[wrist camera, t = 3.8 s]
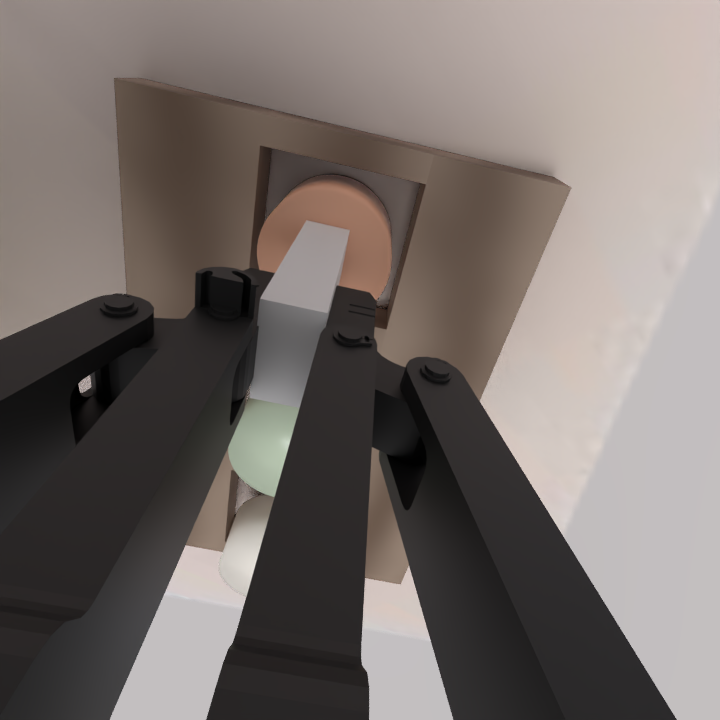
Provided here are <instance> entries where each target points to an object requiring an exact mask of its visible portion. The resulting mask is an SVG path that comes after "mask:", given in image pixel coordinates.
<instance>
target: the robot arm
mask: <svg viewBox="0 0 720 720" xmlns="http://www.w3.org/2000/svg"><path fill="white" fill-rule="evenodd" d="M349 232H350V230H347V229H343V228H339V227H334V226H330V225H325V224H321V223H317V222H312V221H308V220H306V222H305V224H304V225H303V227H302V229H301V230H300V232H299V234H298V235H297V237H296V239H295V241H294V242H293V244H292V246H291V247H290V249H289V251H288V252H287V254H286V256H285V257H284V259H283V261H282V262H281V264H280V266H279V267H278V269H277V271H276V272H275V273H273V272H268V271H263V270H259V269H254V268H249V269H246V270H243V271H242V270H239V269H236V268H229V267H208V268H203V269H201V270H199V271H197V272H196V274H195V307H194V308H193V309H192V310H191V312H190V313H189V314H188V315H187V316H186V318H183V319H170V318H154V307H153V306H152V304H151V303H150V302H149V301H147V300H145V299H143V298H140V297H136V296H132V295H129V294H124V295H122V294H113V295H105V296H101V297H97V298H94V299H91V300H89V301H87V302H84V303H82V304H80V305H78V306H75V307H73V308H71V309H69V310H66V311H64V312H62V313H60V314H57V315H55V316H53V317H51V318H48V319H46V320H44V321H42V322H39V323H37V324H35V325H33V326H30V327H28V328H26V329H24V330H21V331H19V332H17V333H15V334H12V335H10V336H8V337H6V338H3V339H1V340H0V720H110V717H111V715H112V712H113V710H114V708H115V705H116V703H117V701H118V699H119V696H120V694H121V691H122V689H123V687H124V685H125V682H126V680H127V678H128V676H129V673H130V671H131V669H132V666H133V664H134V662H135V660H136V657H137V655H138V653H139V650H140V648H141V646H142V643H143V641H144V639H145V637H146V634H147V632H148V629H149V627H150V625H151V623H152V621H153V618H154V616H155V614H156V611H157V609H158V607H159V604H160V602H161V600H162V598H163V595H164V593H165V591H166V589H167V586H168V584H169V582H170V579H171V577H172V575H173V573H174V570H175V568H176V566H177V563H178V561H179V559H180V556H181V554H182V552H183V550H184V547H185V545H186V543H187V540H188V538H189V536H190V534H191V531H192V529H193V527H194V524H195V522H196V520H197V518H198V515H199V513H200V511H201V508H202V506H203V504H204V501H205V499H206V497H207V495H208V492H209V490H210V488H211V485H212V483H213V481H214V479H215V476H216V474H217V472H218V469H219V467H220V465H221V463H222V460H223V458H224V456H225V453H226V451H227V449H228V446H229V444H230V442H231V440H232V437H233V435H234V433H235V430H236V428H237V426H238V424H239V421H240V419H241V417H242V414H243V412H244V408H245V398H246V392H247V390H248V388H249V386H250V384H251V388H250V397H249V398H253V399H257V400H262V401H267V402H272V403H277V404H282V405H287V406H292V407H297V408H299V412H298V415H297V419H296V422H295V426H294V429H293V433H292V437H291V440H290V444H289V447H288V451H287V454H286V458H285V461H284V465H283V469H282V472H281V476H280V479H279V483H278V486H277V490H276V493H275V497H274V501H273V504H272V508H271V511H270V515H269V518H268V522H267V525H266V529H265V533H264V536H263V540H262V543H261V547H260V550H259V554H258V557H257V561H256V565H255V568H254V572H253V575H252V579H251V582H250V586H249V589H248V593H247V597H246V600H245V604H244V607H243V611H242V615H241V618H240V622H239V625H238V628H237V632H236V635H235V638H234V641H233V643H232V645H231V646H230V647H229V649H228V651H227V654H226V657H225V660H224V662H223V665H222V669H221V672H220V675H219V678H218V682H217V685H216V688H215V692H214V695H213V699H212V702H211V706H210V709H209V712H208V716H207V719H206V720H369V684H368V676H367V672H366V670H365V669H364V668H363V666H362V662H361V640H362V639H361V638H362V621H363V603H364V584H365V566H366V547H367V529H368V510H369V492H370V473H371V455H372V447H373V448H375V449H377V450H379V462H380V465H381V469H382V472H383V476H384V479H385V483H386V486H387V490H388V493H389V497H390V500H391V504H392V507H393V511H394V514H395V518H396V521H397V525H398V528H399V532H400V535H401V539H402V542H403V545H404V549H405V552H406V556H407V559H408V563H409V566H410V570H411V573H412V577H413V580H414V584H415V587H416V591H417V594H418V598H419V601H420V605H421V608H422V612H423V615H424V619H425V622H426V625H427V629H428V632H429V636H430V639H431V643H432V646H433V650H434V653H435V657H436V660H437V664H438V667H439V670H440V674H441V678H442V681H443V684H444V688H445V692H446V695H447V698H448V702H449V705H450V709H451V712H452V716H453V719H454V720H677V719H676V718H675V716H674V715H673V713H672V711H671V710H670V708H669V707H668V705H667V703H666V702H665V700H664V698H663V697H662V695H661V694H660V692H659V691H658V689H657V687H656V686H655V684H654V682H653V681H652V679H651V677H650V676H649V674H648V673H647V671H646V670H645V668H644V666H643V665H642V663H641V661H640V660H639V658H638V657H637V655H636V653H635V652H634V650H633V648H632V647H631V645H630V644H629V642H628V640H627V639H626V637H625V635H624V634H623V632H622V631H621V629H620V627H619V626H618V625H617V623H616V621H615V619H614V618H613V616H612V615H611V613H610V611H609V610H608V608H607V606H606V605H605V603H604V602H603V600H602V598H601V597H600V595H599V594H598V592H597V590H596V589H595V587H594V585H593V584H592V583H591V581H590V579H589V577H588V576H587V574H586V573H585V571H584V569H583V568H582V566H581V564H580V563H579V561H578V560H577V558H576V556H575V555H574V553H573V551H572V550H571V548H570V547H569V545H568V543H567V542H566V540H565V539H564V537H563V535H562V534H561V532H560V531H559V529H558V527H557V526H556V524H555V522H554V521H553V519H552V518H551V516H550V514H549V513H548V511H547V510H546V508H545V506H544V505H543V503H542V501H541V500H540V498H539V497H538V495H537V493H536V492H535V490H534V489H533V487H532V485H531V484H530V482H529V480H528V479H527V477H526V476H525V474H524V472H523V471H522V469H521V468H520V466H519V464H518V463H517V461H516V459H515V458H514V456H513V455H512V453H511V451H510V450H509V448H508V447H507V445H506V443H505V442H504V440H503V438H502V437H501V435H500V434H499V432H498V430H497V429H496V427H495V426H494V424H493V422H492V421H491V419H490V417H489V416H488V414H487V413H486V411H485V409H484V408H483V406H482V405H481V403H480V401H479V400H478V398H477V396H476V395H475V393H474V392H473V390H472V388H471V387H470V385H469V384H468V382H467V380H466V379H465V377H464V375H463V374H462V373H461V372H460V371H459V370H458V369H457V368H456V367H454V366H452V365H451V364H449V363H448V362H446V361H444V360H441V359H439V358H432V357H415V358H413V359H410V360H409V362H408V363H407V364H406V367H403V366H400V365H398V364H395V363H393V362H391V361H389V360H388V359H386V358H385V357H383V356H382V355H381V354H380V353H379V352H378V351H377V342H376V339H375V338H374V329H375V313H376V300H375V299H374V297H373V296H372V295H371V293H370V292H366V291H361V290H356V289H352V288H347V287H343V286H339V282H340V277H341V272H342V267H343V262H344V257H345V252H346V247H347V242H348V237H349ZM89 375H90V377H91V386H92V387H91V388H90V389H88V390H87V391H85V392H83V393H80V391H79V386H78V383H79V382H80V381H81V380H83V379H84V378H85V377H87V376H89Z"/></svg>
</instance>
